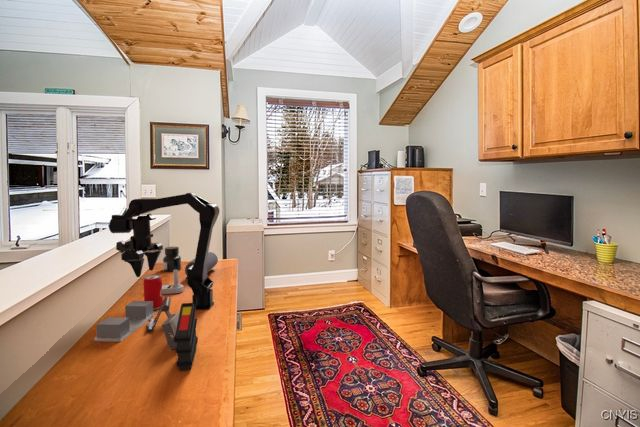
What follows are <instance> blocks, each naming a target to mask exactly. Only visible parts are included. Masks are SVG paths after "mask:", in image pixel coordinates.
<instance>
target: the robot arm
mask: <svg viewBox="0 0 640 427" xmlns="http://www.w3.org/2000/svg"><path fill="white" fill-rule="evenodd" d="M182 205H188V206H190V207H191V208H192V209H193V211H196V212H197V213H198V214H199V215H198V216H199V224H200V230H199V234H198V241H197V245H196V246H197V247H196V253H195V257H194V259H195V263H194V265H192V266H191V267H190V268H188V270H187V275H186V277H185V280H186V284H187V286H188V287H189V288H190V289H191V291H192V293H193V294H192V296H191V297H192V301H191V303H194V305H196V309H195V310H210V309H211V308H212V307H213V305H215V301H213V300H214V296H213V292H214V291H213V286H214V283H215V282H214V281H213V280H212V279H211V278H210V277H208V274H207V265H206V262H207V257H208V252H210V244H211V239H212V234H213V228H214V227H215V224H216V222H217V221H218V220H217V219H218V217H219V216H220V215H219V214H220V207H219V206H218V205H217V204H215V203H214V202H213V203H210V202H209V201H207V200H205V199H204V198H202V197H200V196H198V195H197V194H196V193H195V192H187V193H184V194H179V195H172V196H166V197H160V198H147V197H146V198H145V197H143V198H134V199H132V200H130V201H129V203H128V208H127V209H126V211H125V212H124V214H112V215H111V219H110V221H109V224H108V230H109V231H110V233H112V234H129V233H131V232H132V234H133V235H131V236H130V238H129V239H130V240H127V241H126V242H125V241H124V240H119V241H117V242H116V246H115V247H116V248H115V249H116V251H118V252H120V257H121V258H120V259H121V261H124V262H125V263H128V264H129V265H130V266H131V268H132V270H133V272H134V274H135V276H136V278H140V277H141V275H142V272H143V271H142V270H143V266H144V262H145V258H144V256H145V257H146V260H147V266H148V268H149V271H154V268H155V266H156V263H157V262H158V259H159V257H160V254H161V253H162V250H164V245H163V244H162V243H161V242H152V238H154V234H153V233H152V232H151V230H152V229H151V221H153V220H156V219H157V218H156V217H155V216H154V215H152V213H151V212H153V211H156V210H159V209H163V208H169V207H175V206H182ZM144 214H146V215H144ZM134 217H137V218H134Z"/></svg>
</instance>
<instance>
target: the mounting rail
mask: <svg viewBox="0 0 640 427" xmlns="http://www.w3.org/2000/svg"><path fill="white" fill-rule="evenodd" d="M155 315H156V311H154V310H153V313H151V314H150V315H149V316H147V317H126V315H125V316H124V317H123V318H129V325H130V330H129V331H128V332H127V333H126V334H124V335H123V336H122V337H120V338H115V337H97V335H96V336H95V337H94V338H93V341H94V342H114V343H115V342H117V343H118V342H120V343H121V342H123V341H124V340H125V339H127V338H128V337H129V336H130V335H131V334H133V333H134V332H135V331H136V330H137V329H139V328H141V326H142V325H144V324H145V323H146V322H148V321H149V318H150V316H151V318H153V317H154V316H155Z"/></svg>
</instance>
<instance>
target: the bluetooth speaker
mask: <svg viewBox="0 0 640 427" xmlns="http://www.w3.org/2000/svg"><path fill="white" fill-rule="evenodd" d="M218 261H219V258H218V256H217V255H216V253H214V252H212V251H211V252H210V251H208V257H207V262H206V265H207V273H208V274H209V272H210V271H211V270H212V269H213V268H214V267H216V265H217V264H218ZM194 263H195V258H193V259H192V260H190V261H189V262H188V263H187V264H186V265H185V268H184V273H185V275H186V276H187V270H188V268H190V267H191V266H192V265H194Z"/></svg>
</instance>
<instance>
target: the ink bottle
mask: <svg viewBox="0 0 640 427" xmlns="http://www.w3.org/2000/svg"><path fill="white" fill-rule="evenodd" d="M179 254H180V250H179V246H167V247H165V248H164V255H165V256H164V257H163V258H162V270H163V271H164V272H173V270H178V271H180V270H181V269H182V257H181V255H179Z"/></svg>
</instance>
